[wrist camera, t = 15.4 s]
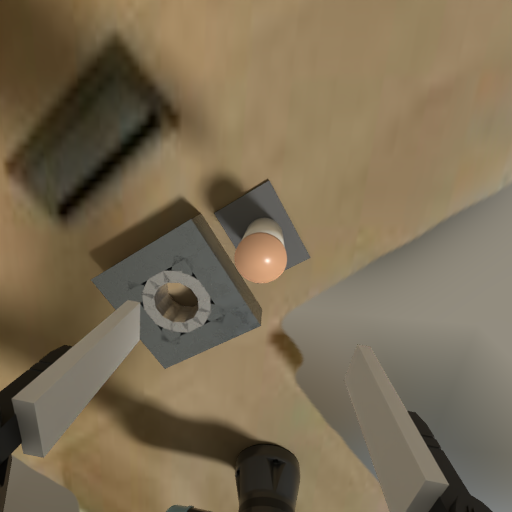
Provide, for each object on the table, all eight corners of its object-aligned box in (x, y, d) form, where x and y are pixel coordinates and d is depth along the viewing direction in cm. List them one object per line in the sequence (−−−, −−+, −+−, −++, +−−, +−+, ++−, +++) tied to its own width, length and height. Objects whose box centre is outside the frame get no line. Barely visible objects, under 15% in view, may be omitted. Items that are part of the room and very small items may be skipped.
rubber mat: (309, 256, 39) (310, 257, 39) (257, 282, 42) (257, 283, 41) (269, 180, 36) (269, 180, 36) (214, 212, 38) (214, 213, 38)
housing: (262, 309, 43) (260, 325, 39) (175, 349, 48) (164, 368, 43) (201, 213, 38) (191, 218, 34) (110, 268, 43) (90, 279, 38)
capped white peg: (290, 243, 39) (296, 269, 28) (257, 260, 40) (251, 291, 29) (271, 209, 37) (270, 223, 27) (238, 228, 38) (224, 249, 28)
